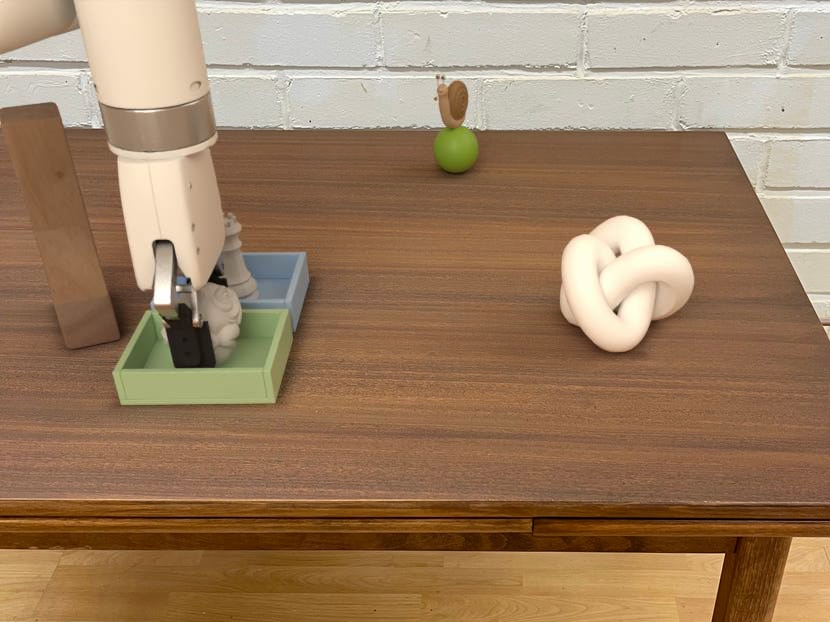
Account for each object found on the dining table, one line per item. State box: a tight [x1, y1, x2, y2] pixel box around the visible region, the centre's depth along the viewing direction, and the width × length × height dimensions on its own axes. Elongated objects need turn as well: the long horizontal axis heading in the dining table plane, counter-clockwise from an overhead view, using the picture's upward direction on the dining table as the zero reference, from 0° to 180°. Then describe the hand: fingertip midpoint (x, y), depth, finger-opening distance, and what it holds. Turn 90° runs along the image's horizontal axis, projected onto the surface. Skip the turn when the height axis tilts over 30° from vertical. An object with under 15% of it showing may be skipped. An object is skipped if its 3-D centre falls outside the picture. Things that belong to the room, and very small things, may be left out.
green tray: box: [111, 309, 294, 406], centre depth 78 cm, size 12×10×3 cm
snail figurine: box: [432, 73, 480, 174], centre depth 111 cm, size 5×6×12 cm
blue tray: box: [149, 251, 310, 333], centre depth 87 cm, size 12×10×3 cm
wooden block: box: [0, 101, 121, 350], centre depth 80 cm, size 9×4×18 cm, turn 24°
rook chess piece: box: [219, 212, 259, 299], centre depth 86 cm, size 4×4×8 cm
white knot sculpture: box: [559, 214, 695, 353], centre depth 82 cm, size 11×12×9 cm
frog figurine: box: [161, 282, 242, 368], centre depth 77 cm, size 6×7×7 cm
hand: (205, 342), depth 78 cm, fingers closed on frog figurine, 6 cm apart
